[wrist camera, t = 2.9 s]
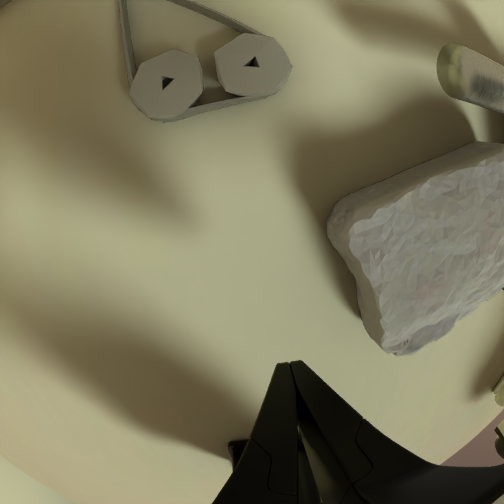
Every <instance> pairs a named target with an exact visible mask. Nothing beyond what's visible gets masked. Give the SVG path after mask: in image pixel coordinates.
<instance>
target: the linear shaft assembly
mask: <svg viewBox="0 0 504 504" xmlns="http://www.w3.org/2000/svg"><path fill="white" fill-rule="evenodd" d="M437 76H438V79H439V82H440V85H441V87H442V88H443V90H444V91H445V92H446V93H447V94H448V95H449V96H450V97H452V98H455V99H458V100H462V101H465V102H469V103H472V104H475V105H478V106H481V107H484V108H487V109H490V110H493V111H496V112H499V113H501V114H504V66H503V65H501V64H499V63H497V62H495V61H494V60H492V59H490V58H488V57H486V56H484V55H482V54H480V53H478V52H476V51H474V50H472V49H469V48H467V47H465V46H463V45H460V44H458V43H449V44H447V45H445V46H444V47H443V48H442V49H441V51H440V53H439V55H438V58H437Z"/></svg>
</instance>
